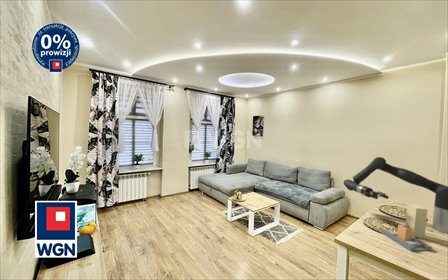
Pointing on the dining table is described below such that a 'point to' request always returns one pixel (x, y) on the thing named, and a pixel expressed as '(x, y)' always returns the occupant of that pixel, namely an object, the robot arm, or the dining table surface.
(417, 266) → the dining table surface
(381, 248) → the dining table surface
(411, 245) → the frame
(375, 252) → the dining table surface
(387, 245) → the dining table surface
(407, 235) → the orange block with knob
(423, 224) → the pale yellow tall block
